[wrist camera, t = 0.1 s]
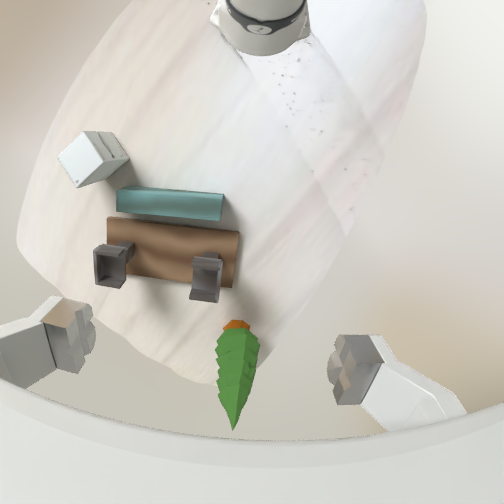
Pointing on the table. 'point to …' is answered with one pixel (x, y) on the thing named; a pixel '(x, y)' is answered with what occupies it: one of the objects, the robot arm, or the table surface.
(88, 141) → the supplement box
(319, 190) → the table surface
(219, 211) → the teal rail
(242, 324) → the decorative tree
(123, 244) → the bracket stand
